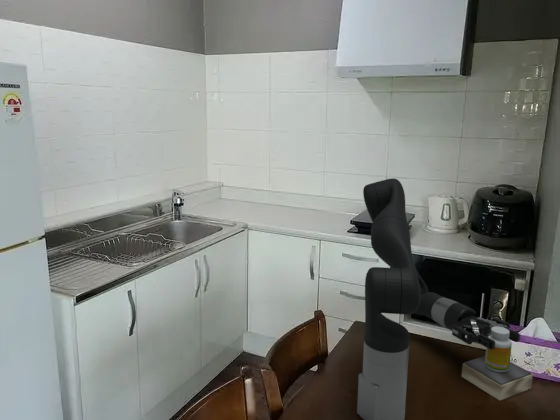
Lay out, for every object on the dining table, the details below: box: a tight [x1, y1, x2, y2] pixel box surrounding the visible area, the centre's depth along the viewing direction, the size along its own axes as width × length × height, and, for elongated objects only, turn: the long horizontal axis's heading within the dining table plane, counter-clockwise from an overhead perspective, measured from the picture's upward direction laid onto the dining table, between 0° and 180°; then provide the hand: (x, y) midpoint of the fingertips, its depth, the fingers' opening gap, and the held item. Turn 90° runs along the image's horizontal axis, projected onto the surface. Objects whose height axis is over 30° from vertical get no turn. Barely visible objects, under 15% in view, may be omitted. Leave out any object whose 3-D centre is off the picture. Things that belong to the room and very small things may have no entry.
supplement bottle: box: [484, 327, 513, 372], centre depth 109 cm, size 5×5×10 cm
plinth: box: [461, 355, 534, 402], centre depth 110 cm, size 11×11×4 cm
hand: (506, 341), depth 107 cm, fingers open, 8 cm apart
